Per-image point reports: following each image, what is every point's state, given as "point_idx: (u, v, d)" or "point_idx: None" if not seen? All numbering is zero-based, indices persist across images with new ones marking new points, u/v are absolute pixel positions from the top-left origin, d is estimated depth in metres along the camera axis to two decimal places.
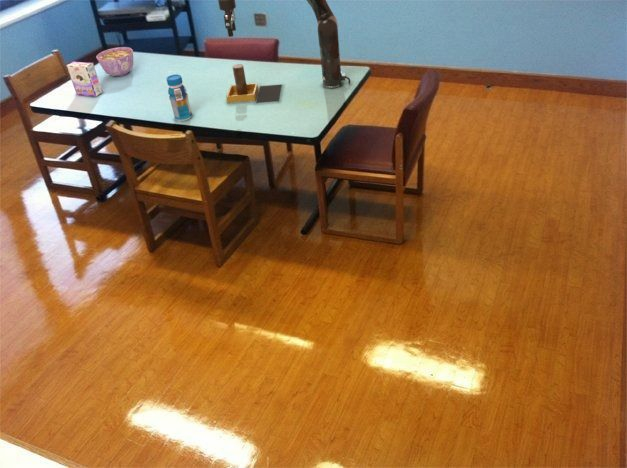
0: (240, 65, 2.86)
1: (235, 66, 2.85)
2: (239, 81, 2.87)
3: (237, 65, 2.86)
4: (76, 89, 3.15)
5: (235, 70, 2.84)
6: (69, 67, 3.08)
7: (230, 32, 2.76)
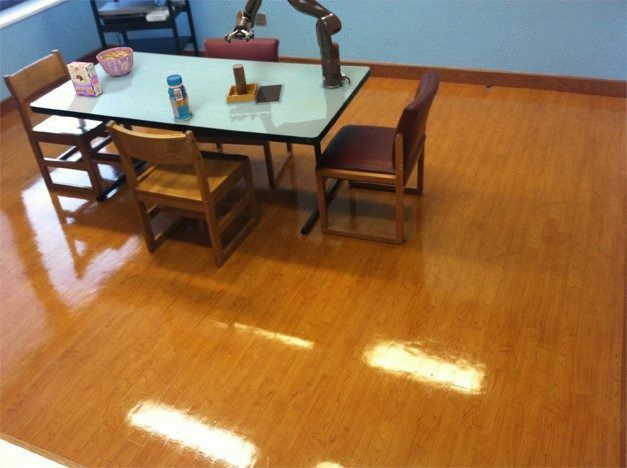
0: (240, 65, 2.86)
1: (235, 66, 2.85)
2: (239, 81, 2.87)
3: (237, 65, 2.86)
4: (76, 89, 3.15)
5: (235, 70, 2.84)
6: (69, 67, 3.08)
7: None
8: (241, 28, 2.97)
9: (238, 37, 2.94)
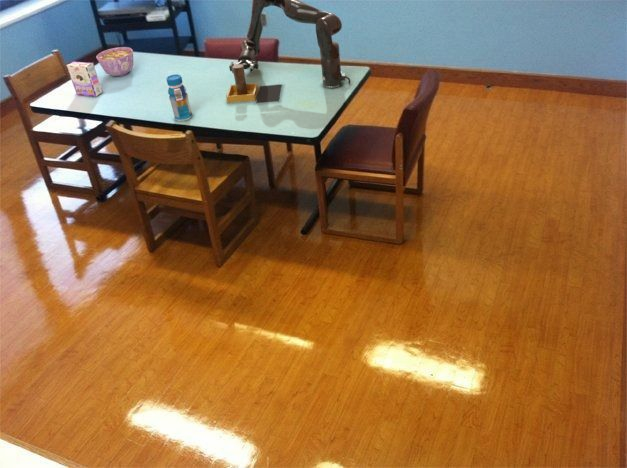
0: (240, 65, 2.86)
1: (235, 66, 2.85)
2: (239, 81, 2.87)
3: (237, 65, 2.86)
4: (76, 89, 3.15)
5: (235, 70, 2.84)
6: (69, 67, 3.08)
7: (232, 69, 2.98)
8: (245, 58, 3.03)
9: None
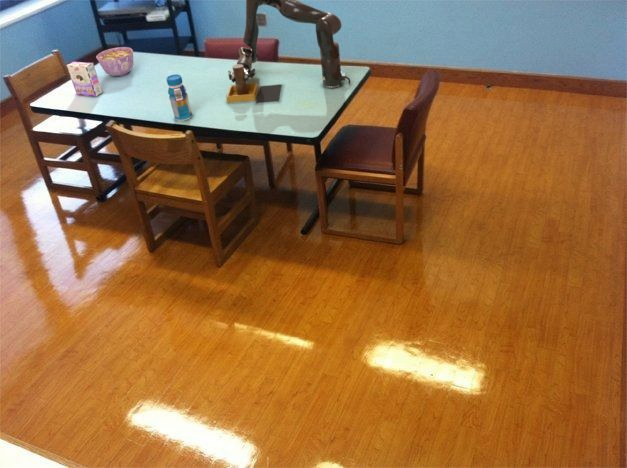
0: (240, 65, 2.86)
1: (235, 66, 2.85)
2: (239, 81, 2.87)
3: (237, 65, 2.86)
4: (76, 89, 3.15)
5: (235, 70, 2.84)
6: (69, 67, 3.08)
7: None
8: (243, 66, 2.95)
9: None
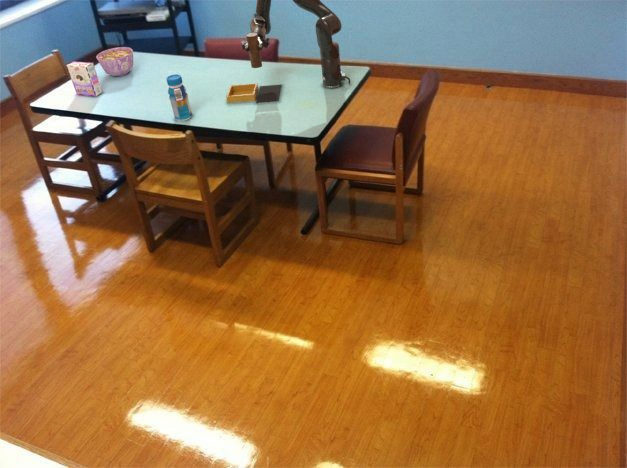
0: (254, 34, 2.76)
1: (249, 35, 2.76)
2: (253, 50, 2.78)
3: (251, 34, 2.77)
4: (76, 89, 3.15)
5: (249, 39, 2.75)
6: (69, 67, 3.08)
7: (245, 48, 2.79)
8: None
9: None
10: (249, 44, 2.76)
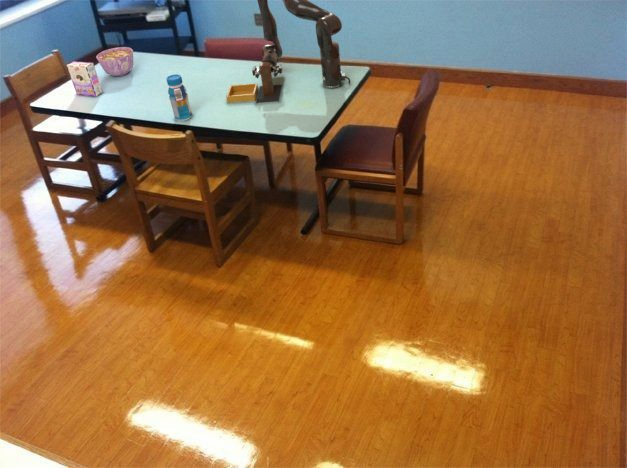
0: (267, 63, 2.85)
1: (262, 64, 2.84)
2: (265, 78, 2.86)
3: (264, 63, 2.85)
4: (76, 89, 3.15)
5: (262, 68, 2.83)
6: (69, 67, 3.08)
7: (255, 74, 2.88)
8: None
9: None
10: (262, 73, 2.85)
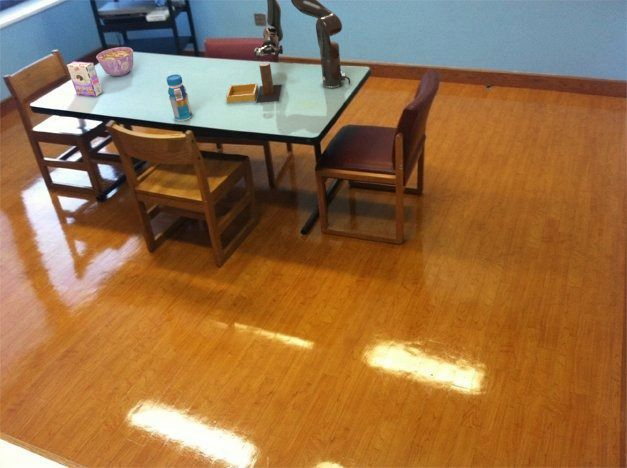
0: (267, 63, 2.85)
1: (262, 64, 2.84)
2: (265, 78, 2.86)
3: (264, 63, 2.85)
4: (76, 89, 3.15)
5: (262, 68, 2.83)
6: (69, 67, 3.08)
7: (256, 55, 2.95)
8: (270, 43, 3.01)
9: (267, 52, 2.98)
10: (262, 73, 2.85)
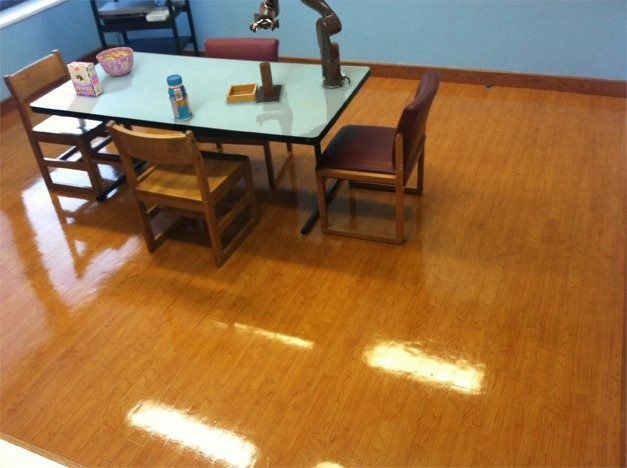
0: (267, 63, 2.85)
1: (262, 64, 2.84)
2: (265, 78, 2.86)
3: (264, 63, 2.85)
4: (76, 89, 3.15)
5: (262, 68, 2.83)
6: (69, 67, 3.08)
7: None
8: (266, 17, 2.93)
9: (263, 26, 2.91)
10: (262, 73, 2.85)
